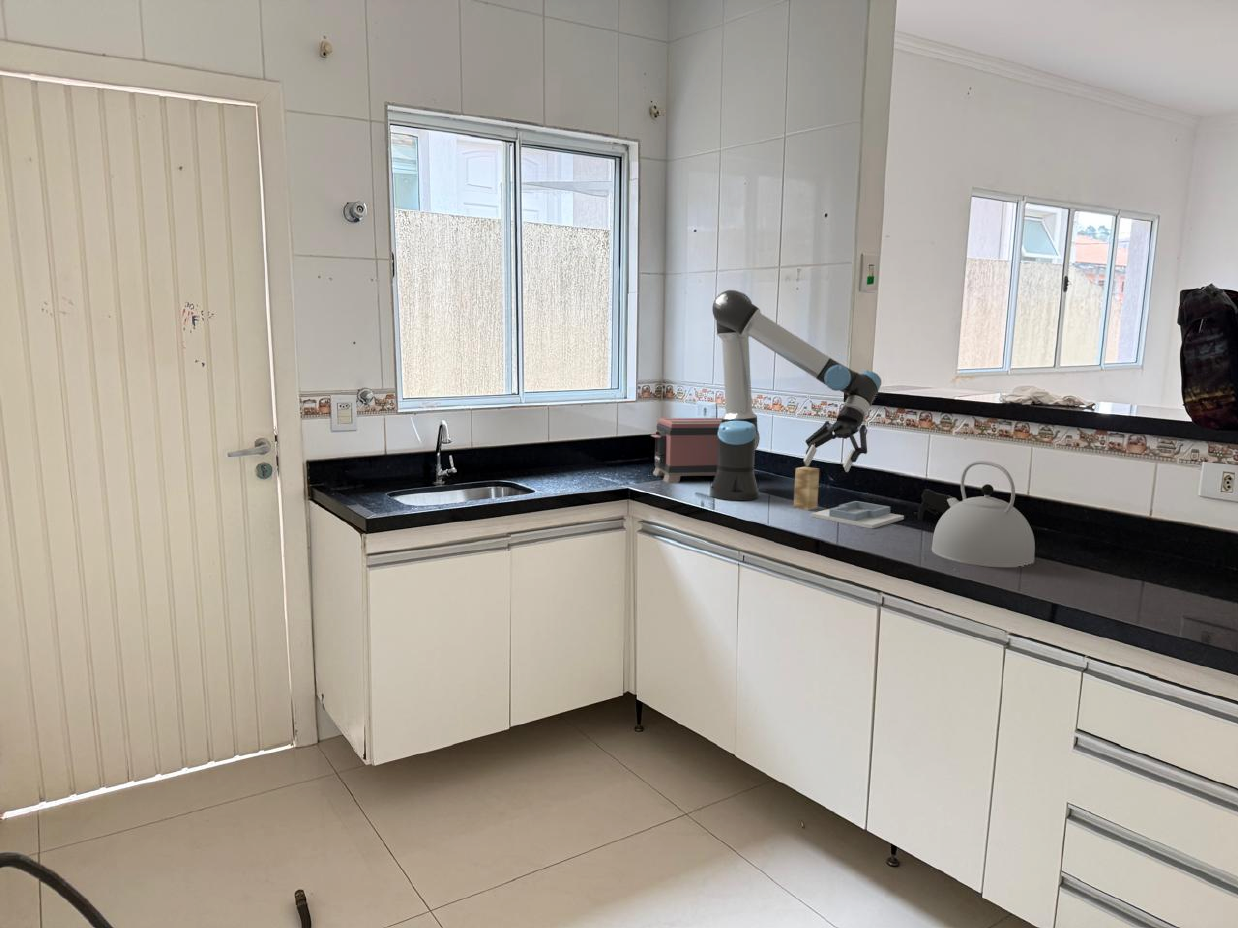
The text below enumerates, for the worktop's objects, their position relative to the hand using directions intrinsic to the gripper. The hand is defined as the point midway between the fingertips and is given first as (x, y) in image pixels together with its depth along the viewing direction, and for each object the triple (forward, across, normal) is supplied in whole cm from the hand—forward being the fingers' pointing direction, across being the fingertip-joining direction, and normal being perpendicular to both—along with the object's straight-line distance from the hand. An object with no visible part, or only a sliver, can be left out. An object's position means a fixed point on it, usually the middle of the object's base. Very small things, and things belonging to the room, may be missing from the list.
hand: (825, 466), depth 255 cm
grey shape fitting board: (+15, -16, -2) cm, 22 cm away
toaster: (+2, +56, -15) cm, 58 cm away
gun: (+5, -36, -13) cm, 38 cm away
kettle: (+24, -56, +7) cm, 61 cm away
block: (+14, +1, -3) cm, 14 cm away
